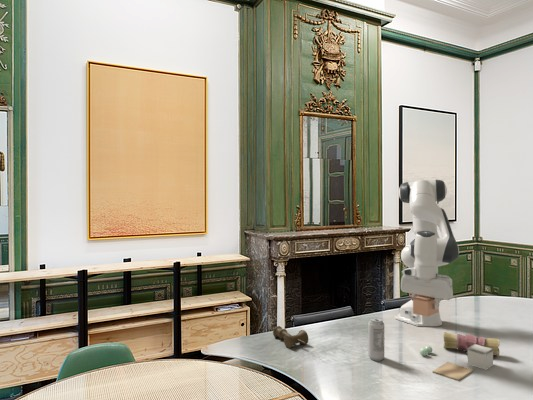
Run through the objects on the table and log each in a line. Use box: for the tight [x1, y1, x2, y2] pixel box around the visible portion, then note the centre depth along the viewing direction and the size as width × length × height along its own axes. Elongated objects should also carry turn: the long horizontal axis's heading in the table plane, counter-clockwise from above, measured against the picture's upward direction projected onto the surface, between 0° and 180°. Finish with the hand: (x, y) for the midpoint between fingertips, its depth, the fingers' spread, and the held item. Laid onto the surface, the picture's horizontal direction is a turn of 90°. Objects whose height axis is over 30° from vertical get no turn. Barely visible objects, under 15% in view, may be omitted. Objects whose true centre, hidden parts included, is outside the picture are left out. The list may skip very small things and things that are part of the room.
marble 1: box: [419, 347, 428, 357], centre depth 155 cm, size 3×3×3 cm
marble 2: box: [424, 345, 433, 355], centre depth 158 cm, size 3×3×3 cm
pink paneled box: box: [413, 295, 440, 317], centre depth 157 cm, size 6×9×6 cm, turn 131°
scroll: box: [443, 331, 501, 356], centre depth 159 cm, size 8×8×20 cm
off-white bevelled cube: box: [467, 344, 494, 370], centre depth 147 cm, size 6×6×6 cm
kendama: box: [272, 325, 309, 349], centre depth 170 cm, size 6×10×20 cm
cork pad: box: [432, 361, 474, 382], centre depth 141 cm, size 9×12×1 cm
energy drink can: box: [367, 317, 385, 362], centre depth 153 cm, size 6×6×15 cm
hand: (425, 306), depth 157 cm, fingers closed on pink paneled box, 6 cm apart
